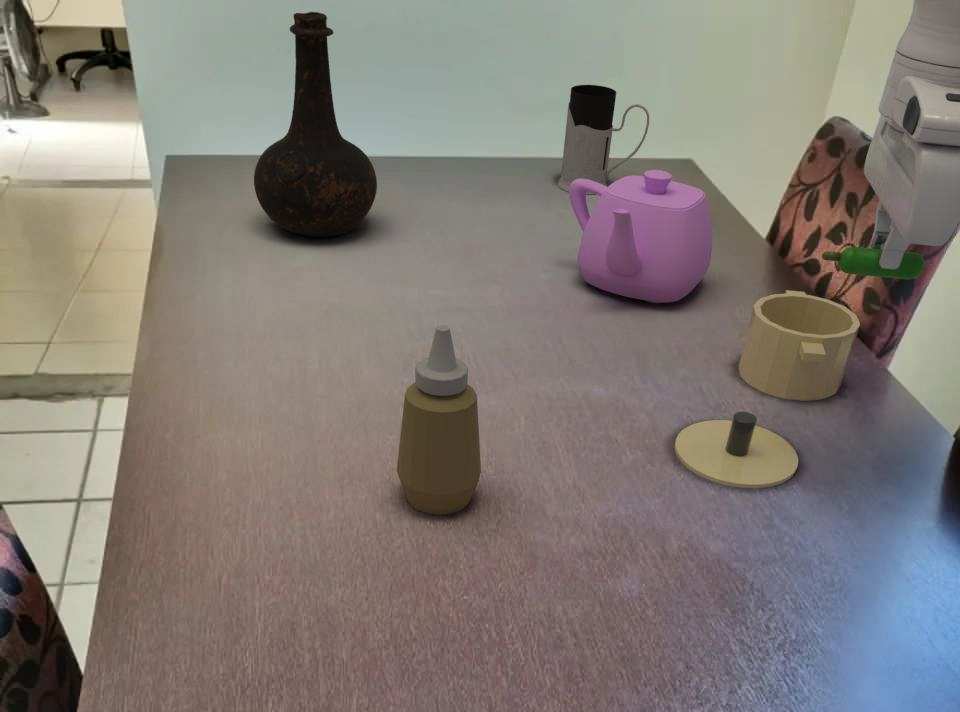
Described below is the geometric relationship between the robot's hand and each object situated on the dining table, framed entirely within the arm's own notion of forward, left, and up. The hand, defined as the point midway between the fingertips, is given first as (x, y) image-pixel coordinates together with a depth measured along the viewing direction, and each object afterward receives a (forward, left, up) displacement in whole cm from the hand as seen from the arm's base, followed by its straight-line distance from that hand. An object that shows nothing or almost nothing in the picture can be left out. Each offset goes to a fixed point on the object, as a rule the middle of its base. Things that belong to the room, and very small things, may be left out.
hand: (883, 259), depth 92 cm
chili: (0, 0, -2) cm, 2 cm away
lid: (+9, +3, -21) cm, 23 cm away
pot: (+1, -17, -21) cm, 27 cm away
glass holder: (+26, -84, -22) cm, 90 cm away
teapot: (+19, -42, -21) cm, 51 cm away
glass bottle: (+68, -53, -21) cm, 89 cm away
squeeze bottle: (+39, +17, -22) cm, 48 cm away
